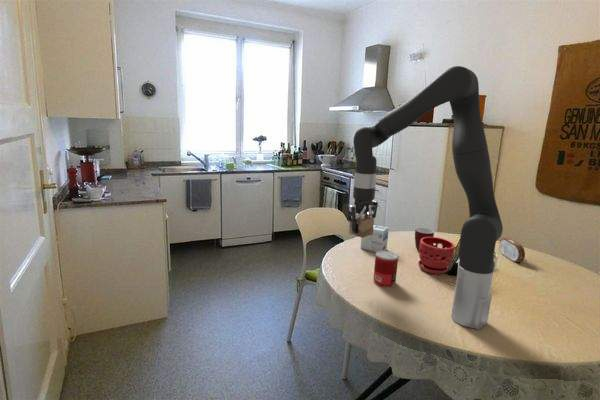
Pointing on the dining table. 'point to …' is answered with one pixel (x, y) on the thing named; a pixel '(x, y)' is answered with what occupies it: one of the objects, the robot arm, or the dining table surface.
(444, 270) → the plant pot
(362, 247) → the light bulb box
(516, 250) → the tin
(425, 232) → the mug
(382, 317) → the dining table surface
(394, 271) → the canned food
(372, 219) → the walnut block
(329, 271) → the dining table surface
